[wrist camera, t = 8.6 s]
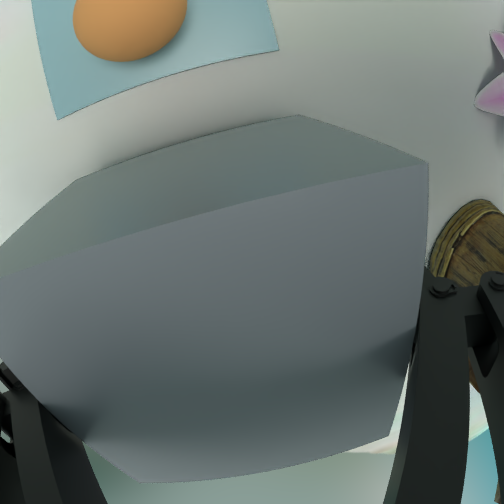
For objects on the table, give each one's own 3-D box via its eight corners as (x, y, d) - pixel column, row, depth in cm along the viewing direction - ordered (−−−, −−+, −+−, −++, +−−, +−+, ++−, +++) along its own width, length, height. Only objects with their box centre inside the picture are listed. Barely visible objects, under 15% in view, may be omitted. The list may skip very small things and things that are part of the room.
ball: (187, -21, 7) (206, 58, 12) (165, -71, 7) (184, -3, 12) (49, 39, 7) (103, 97, 12) (57, -25, 7) (96, 31, 12)
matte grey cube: (298, 114, 12) (428, 163, 5) (326, 302, 17) (388, 435, 10) (75, 180, 12) (-44, 294, 5) (154, 343, 17) (139, 482, 10)
